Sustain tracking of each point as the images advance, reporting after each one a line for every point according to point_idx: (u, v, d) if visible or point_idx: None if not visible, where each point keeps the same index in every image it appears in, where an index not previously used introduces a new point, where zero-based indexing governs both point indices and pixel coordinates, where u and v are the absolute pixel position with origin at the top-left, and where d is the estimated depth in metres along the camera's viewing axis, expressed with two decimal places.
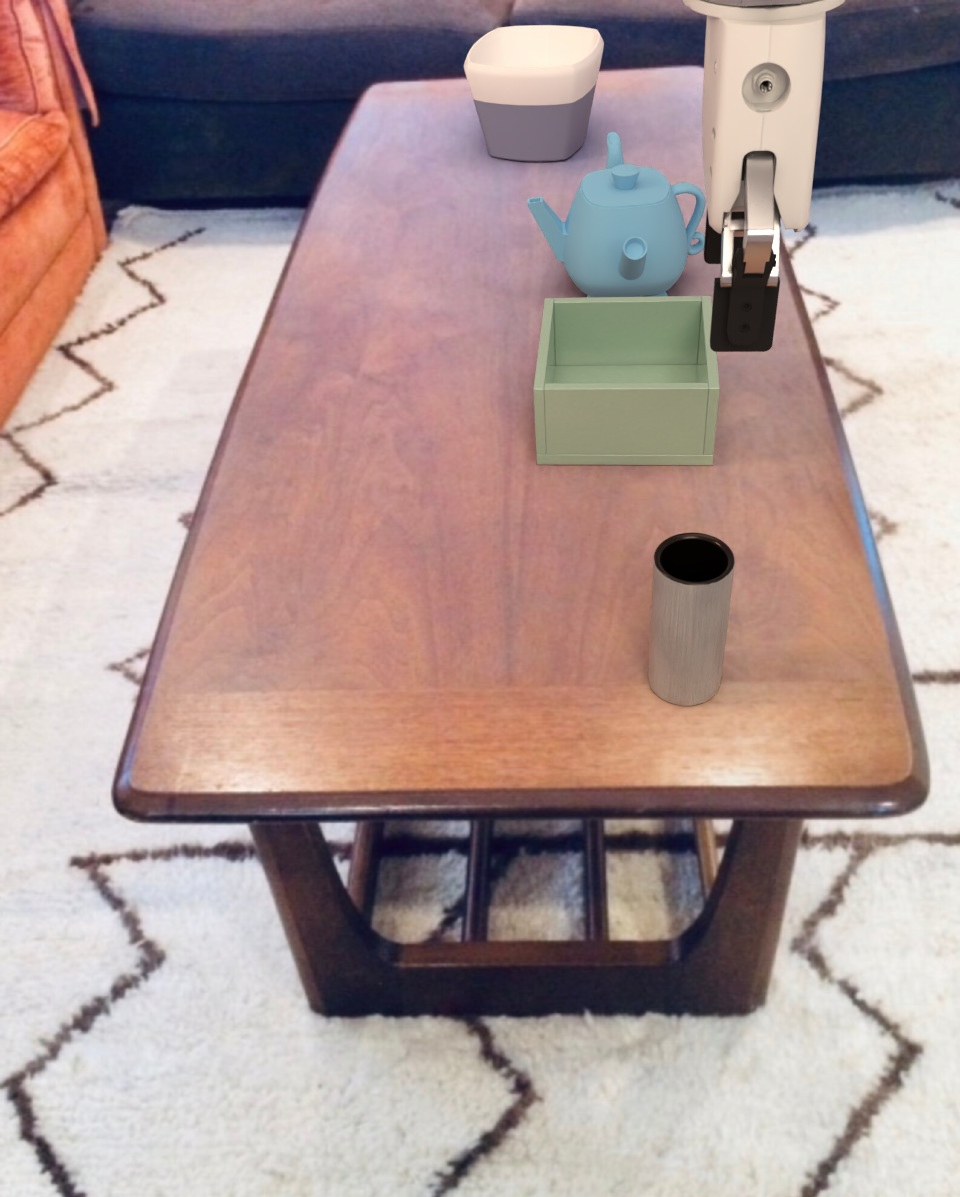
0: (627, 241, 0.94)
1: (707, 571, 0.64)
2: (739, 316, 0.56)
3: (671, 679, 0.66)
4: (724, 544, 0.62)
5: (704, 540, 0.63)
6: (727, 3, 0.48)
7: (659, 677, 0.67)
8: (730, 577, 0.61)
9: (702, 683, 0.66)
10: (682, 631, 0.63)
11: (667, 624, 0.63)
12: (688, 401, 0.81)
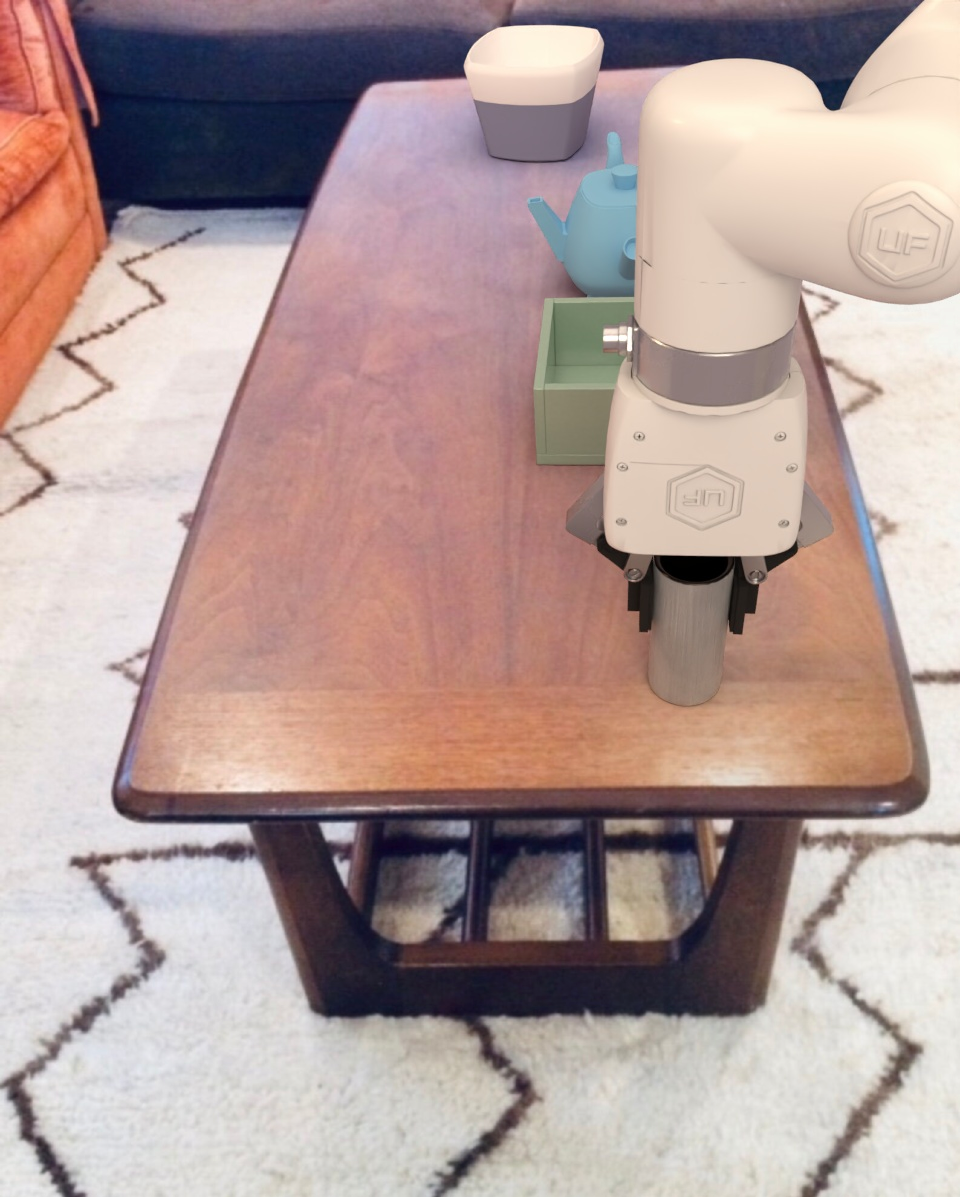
0: (627, 241, 0.94)
1: (707, 571, 0.64)
2: None
3: (671, 679, 0.66)
4: None
5: None
6: None
7: (659, 677, 0.67)
8: (730, 577, 0.61)
9: (702, 683, 0.66)
10: (682, 631, 0.63)
11: (667, 624, 0.63)
12: None
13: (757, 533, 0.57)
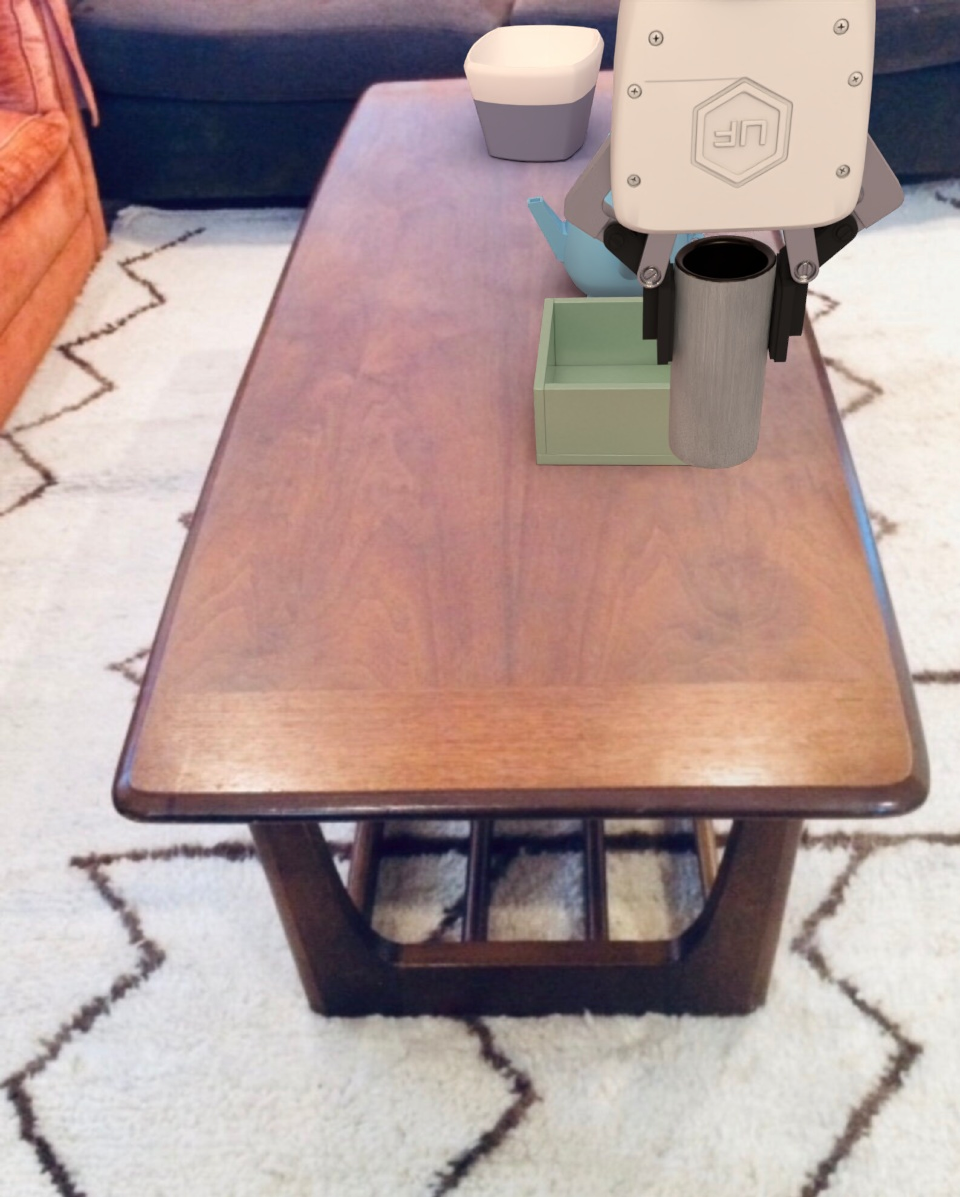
0: None
1: None
2: None
3: (697, 431, 0.54)
4: (762, 243, 0.50)
5: (737, 242, 0.51)
6: None
7: (682, 432, 0.54)
8: (771, 277, 0.49)
9: (736, 435, 0.54)
10: (712, 356, 0.50)
11: (692, 349, 0.51)
12: None
13: (808, 188, 0.44)
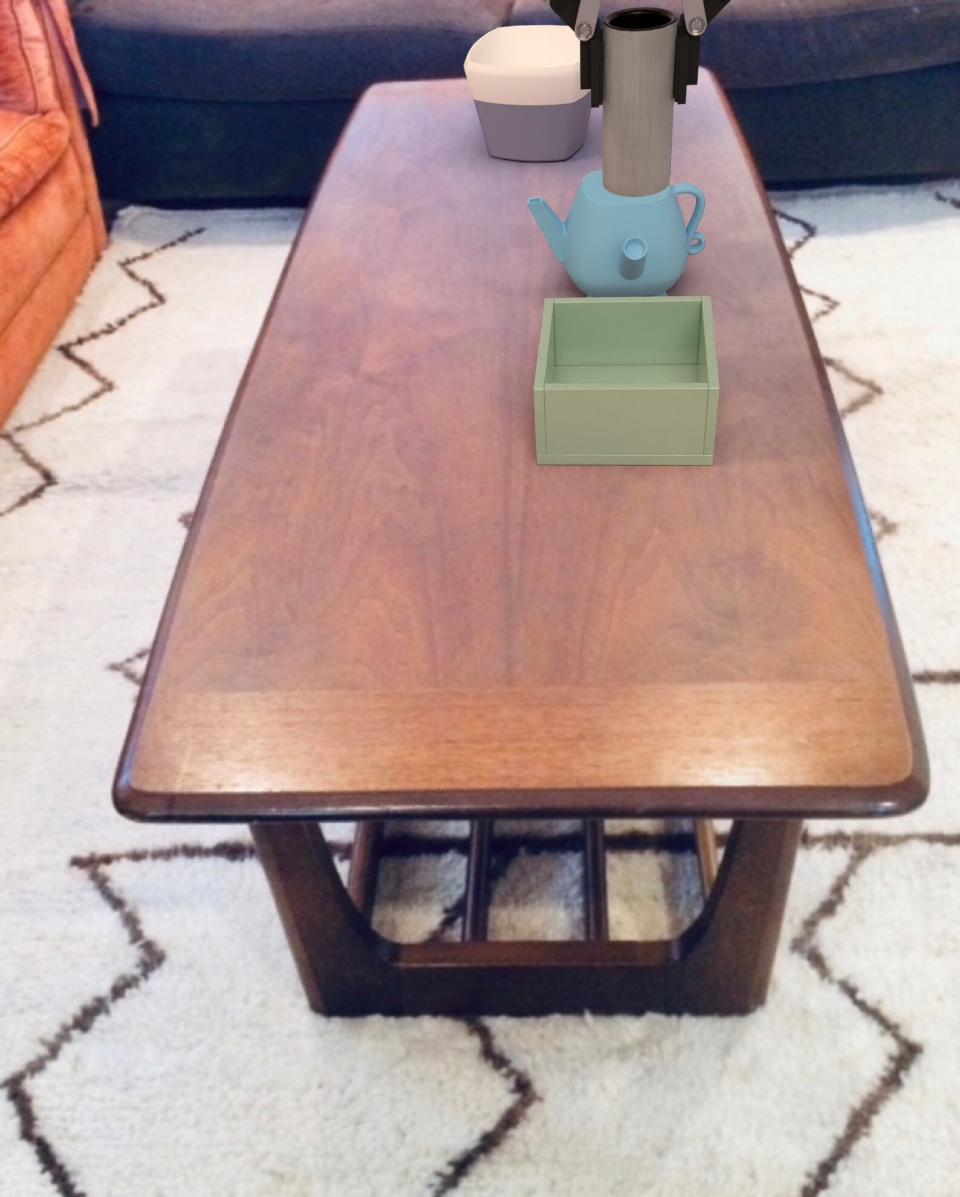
0: (627, 241, 0.94)
1: None
2: None
3: (622, 163, 0.71)
4: (668, 10, 0.68)
5: (650, 12, 0.68)
6: None
7: (611, 166, 0.72)
8: (673, 31, 0.66)
9: (651, 166, 0.71)
10: (630, 95, 0.68)
11: (616, 91, 0.68)
12: (688, 401, 0.81)
13: None
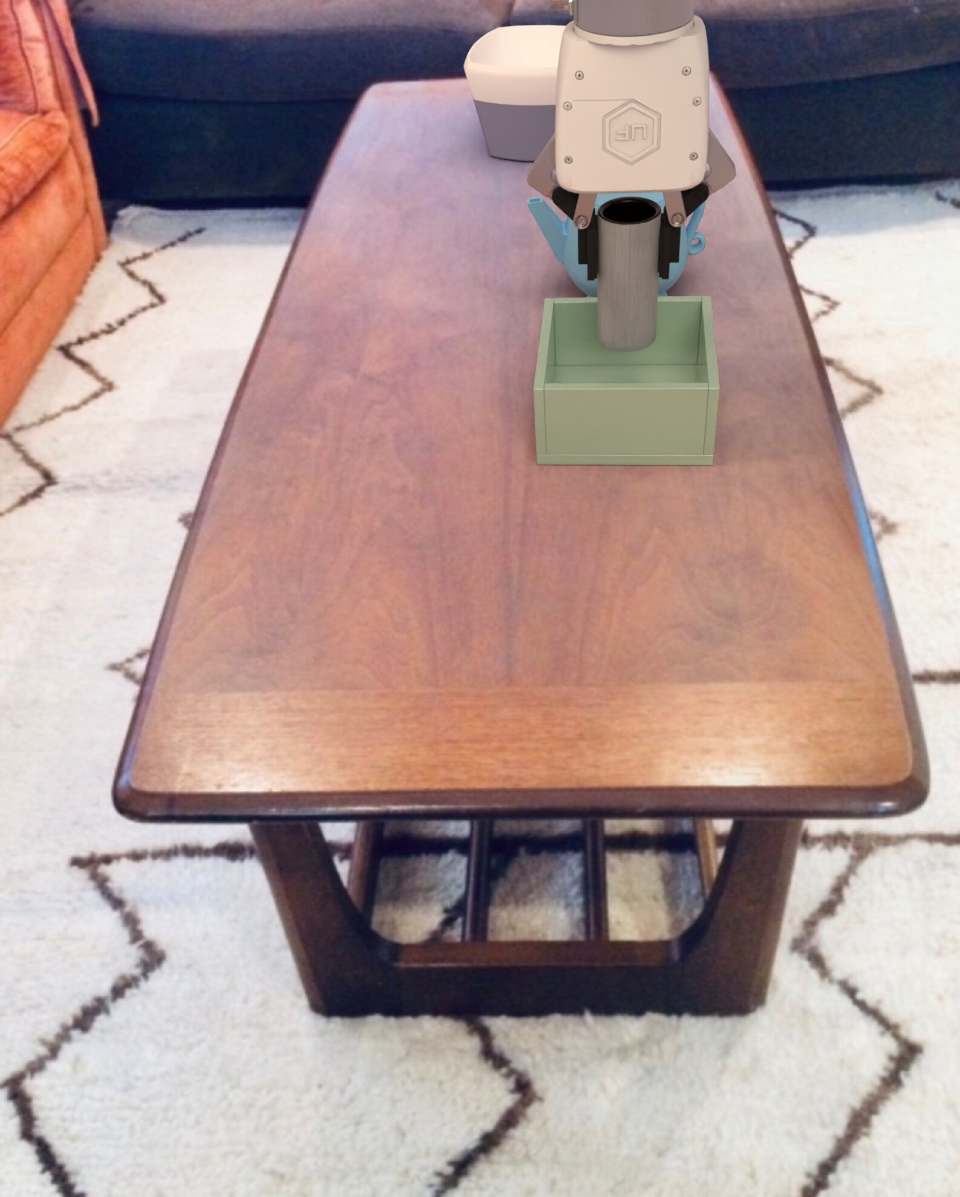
0: None
1: None
2: None
3: (614, 325, 0.82)
4: (653, 202, 0.79)
5: (638, 201, 0.79)
6: None
7: (605, 327, 0.83)
8: (657, 222, 0.77)
9: (639, 328, 0.82)
10: (621, 273, 0.79)
11: (609, 269, 0.79)
12: (688, 401, 0.81)
13: (673, 166, 0.73)
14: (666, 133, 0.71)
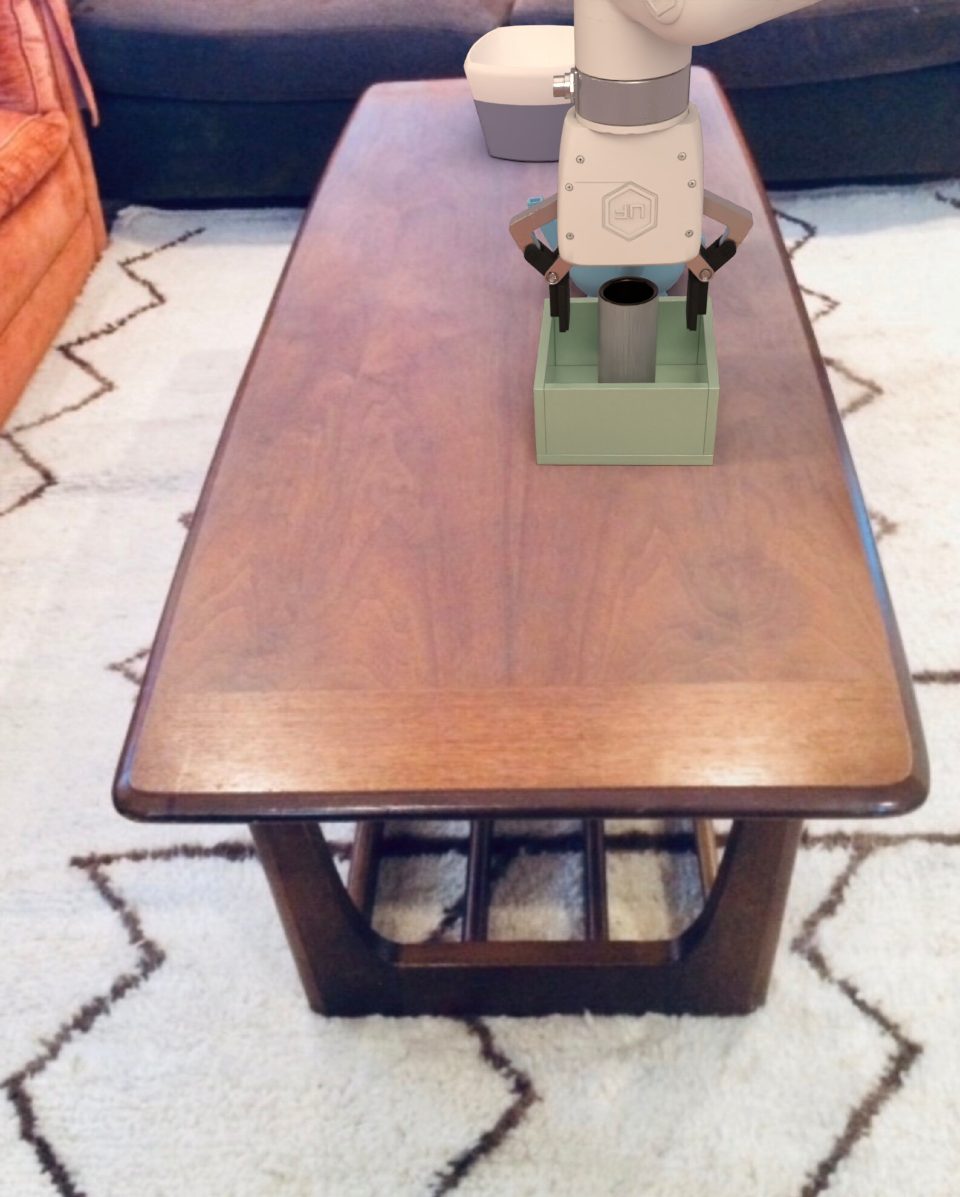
0: None
1: None
2: None
3: None
4: (651, 282, 0.83)
5: (637, 281, 0.84)
6: None
7: None
8: (655, 302, 0.82)
9: None
10: (620, 349, 0.83)
11: (609, 345, 0.84)
12: (688, 401, 0.81)
13: (670, 242, 0.76)
14: (663, 212, 0.75)
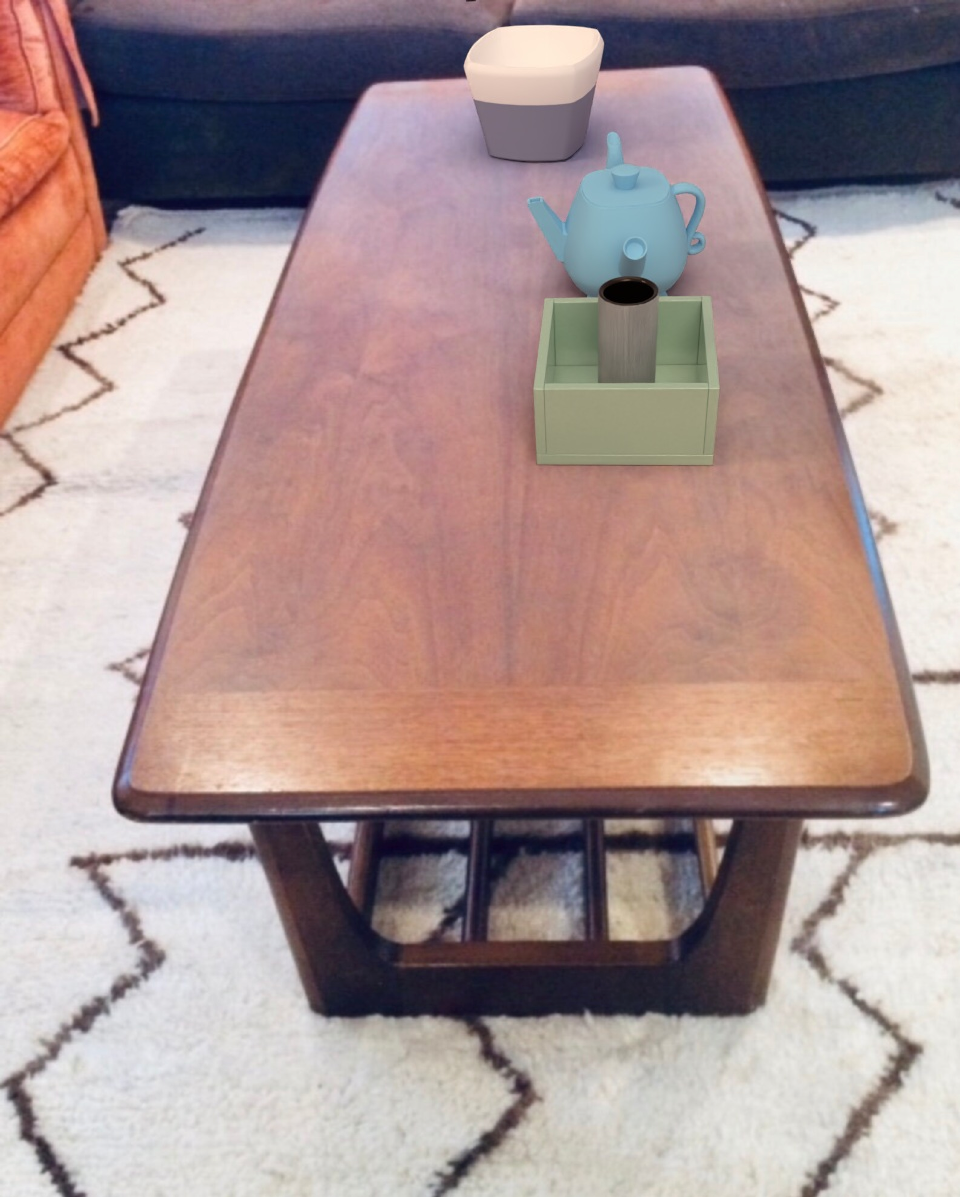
0: (627, 241, 0.94)
1: None
2: None
3: None
4: (651, 282, 0.83)
5: (637, 281, 0.83)
6: None
7: None
8: (655, 302, 0.82)
9: None
10: (620, 349, 0.83)
11: (609, 345, 0.84)
12: (688, 401, 0.81)
13: None
14: None
